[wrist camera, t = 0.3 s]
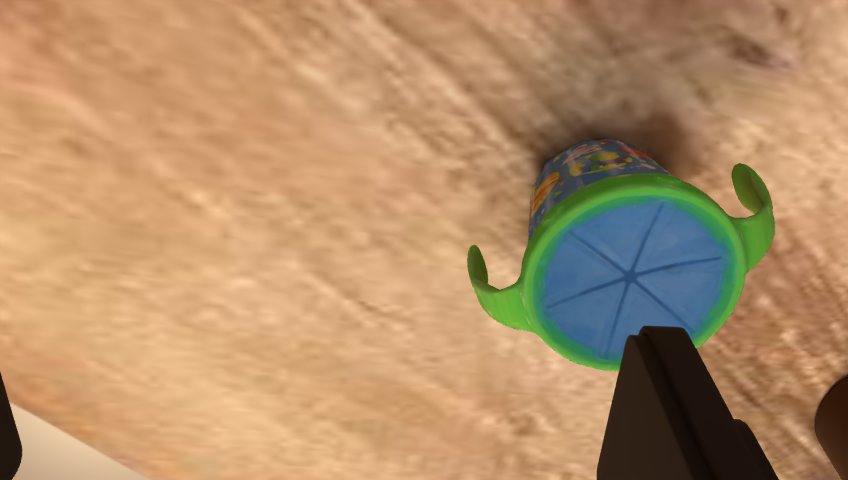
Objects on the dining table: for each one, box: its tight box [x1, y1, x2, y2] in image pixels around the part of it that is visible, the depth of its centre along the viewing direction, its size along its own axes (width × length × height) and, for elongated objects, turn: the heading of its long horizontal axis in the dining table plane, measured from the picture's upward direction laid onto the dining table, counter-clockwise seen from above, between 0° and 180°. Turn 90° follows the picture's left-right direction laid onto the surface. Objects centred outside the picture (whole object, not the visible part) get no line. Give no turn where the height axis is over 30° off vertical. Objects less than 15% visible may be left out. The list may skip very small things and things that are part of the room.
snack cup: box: [467, 138, 775, 371], centre depth 39 cm, size 16×10×10 cm
